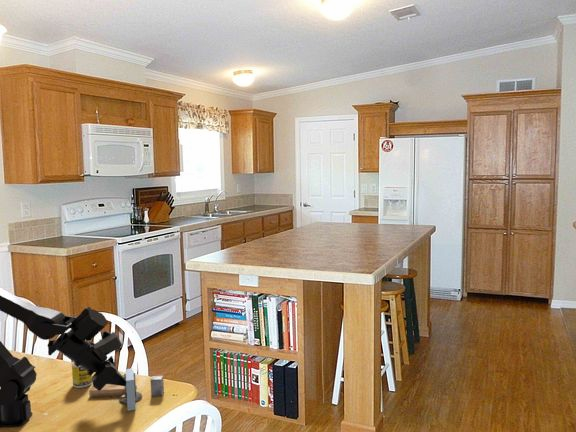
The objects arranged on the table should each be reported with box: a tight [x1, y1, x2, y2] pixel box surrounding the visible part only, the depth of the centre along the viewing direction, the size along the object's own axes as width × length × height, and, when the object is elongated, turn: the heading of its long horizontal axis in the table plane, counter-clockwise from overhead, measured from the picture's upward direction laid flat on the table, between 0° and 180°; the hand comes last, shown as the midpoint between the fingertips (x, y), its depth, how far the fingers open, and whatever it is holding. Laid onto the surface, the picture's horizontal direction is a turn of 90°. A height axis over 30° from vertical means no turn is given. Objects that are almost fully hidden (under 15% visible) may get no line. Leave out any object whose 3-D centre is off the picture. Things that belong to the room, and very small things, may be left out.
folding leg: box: [125, 368, 136, 412], centre depth 136 cm, size 9×2×8 cm, turn 19°
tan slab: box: [88, 372, 143, 404], centre depth 144 cm, size 15×15×7 cm
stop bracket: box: [150, 375, 165, 398], centre depth 142 cm, size 3×2×5 cm
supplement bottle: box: [71, 361, 93, 389], centre depth 150 cm, size 5×5×10 cm
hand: (125, 383), depth 134 cm, fingers closed, pressing on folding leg
